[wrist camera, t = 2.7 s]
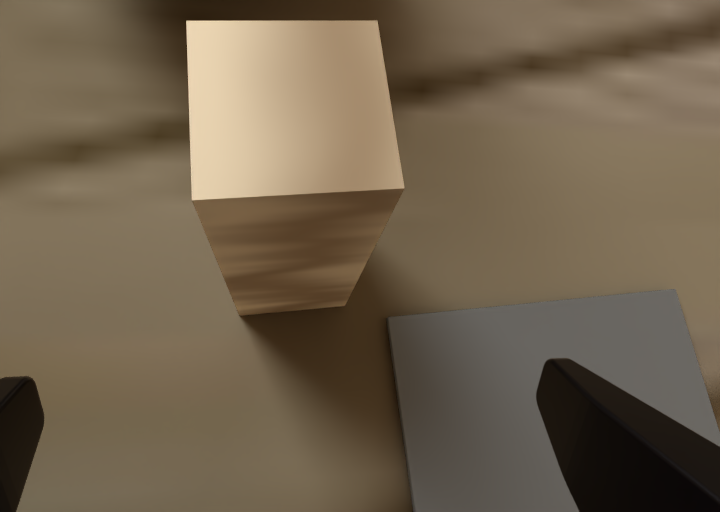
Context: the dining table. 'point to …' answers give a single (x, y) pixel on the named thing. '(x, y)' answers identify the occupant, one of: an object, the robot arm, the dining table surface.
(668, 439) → the robot arm
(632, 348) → the rubber mat
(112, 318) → the dining table surface
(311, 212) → the birch block
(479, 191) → the dining table surface
